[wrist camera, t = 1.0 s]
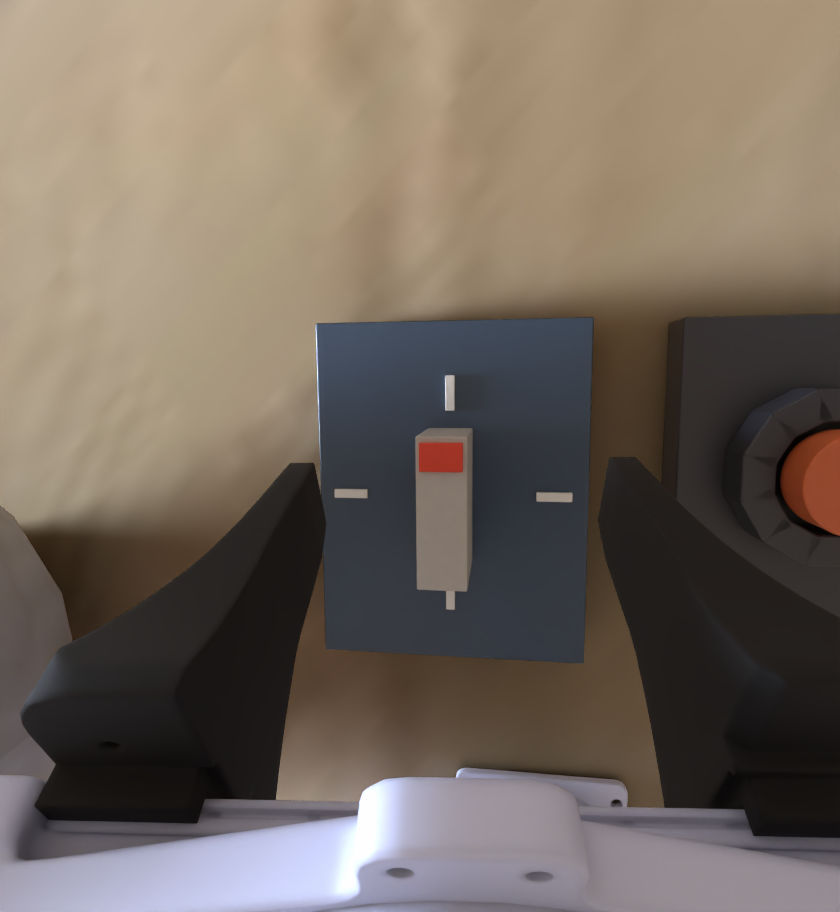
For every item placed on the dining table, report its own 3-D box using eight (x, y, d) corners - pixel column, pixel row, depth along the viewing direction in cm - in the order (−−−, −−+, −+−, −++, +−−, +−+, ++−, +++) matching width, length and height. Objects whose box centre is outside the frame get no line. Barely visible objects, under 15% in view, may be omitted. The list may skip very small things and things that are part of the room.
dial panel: (575, 633, 27) (584, 666, 24) (343, 621, 29) (324, 651, 26) (583, 324, 25) (594, 316, 22) (335, 329, 27) (313, 322, 24)
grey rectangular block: (472, 560, 24) (466, 594, 20) (429, 559, 24) (415, 592, 21) (472, 428, 23) (466, 437, 20) (428, 427, 24) (414, 437, 20)
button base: (901, 604, 25) (976, 646, 21) (656, 594, 26) (682, 632, 22) (930, 316, 23) (1017, 304, 20) (668, 322, 25) (699, 311, 21)
